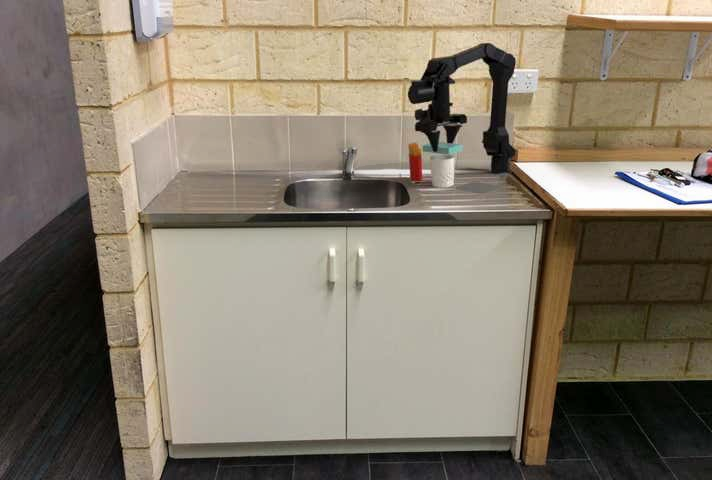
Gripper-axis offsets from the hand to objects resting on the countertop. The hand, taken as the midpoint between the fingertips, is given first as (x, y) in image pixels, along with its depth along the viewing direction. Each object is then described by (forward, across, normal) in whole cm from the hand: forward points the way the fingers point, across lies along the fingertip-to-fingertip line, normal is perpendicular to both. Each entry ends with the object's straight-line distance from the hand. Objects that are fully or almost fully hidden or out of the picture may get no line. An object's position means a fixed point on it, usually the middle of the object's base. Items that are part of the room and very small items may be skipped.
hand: (442, 149), depth 193 cm
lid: (0, 0, 0) cm, 0 cm away
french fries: (+13, -2, -14) cm, 19 cm away
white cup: (+13, 0, 0) cm, 13 cm away
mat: (+12, -3, +12) cm, 17 cm away
